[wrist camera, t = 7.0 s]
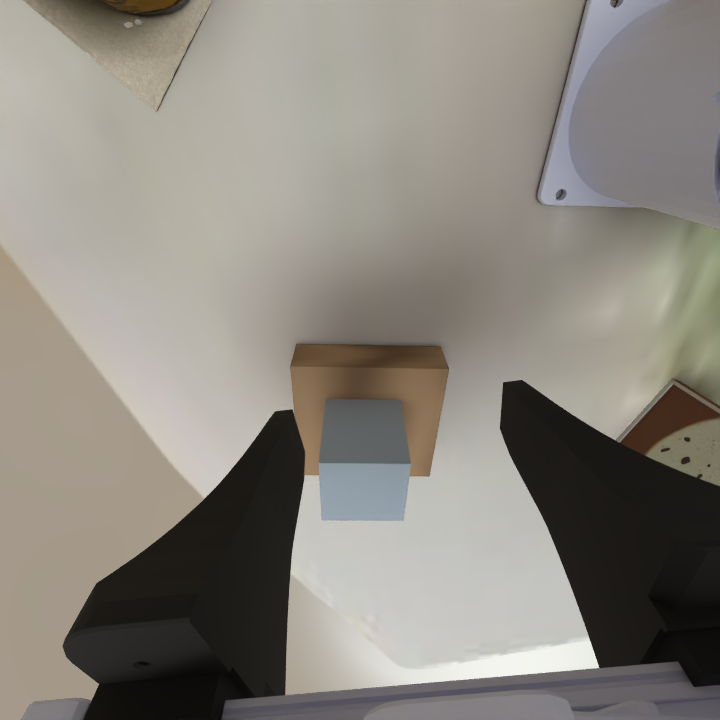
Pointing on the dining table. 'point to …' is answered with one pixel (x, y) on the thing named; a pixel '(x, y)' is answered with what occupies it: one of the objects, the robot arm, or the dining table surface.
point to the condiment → (130, 37)
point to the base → (370, 391)
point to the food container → (679, 432)
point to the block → (363, 460)
